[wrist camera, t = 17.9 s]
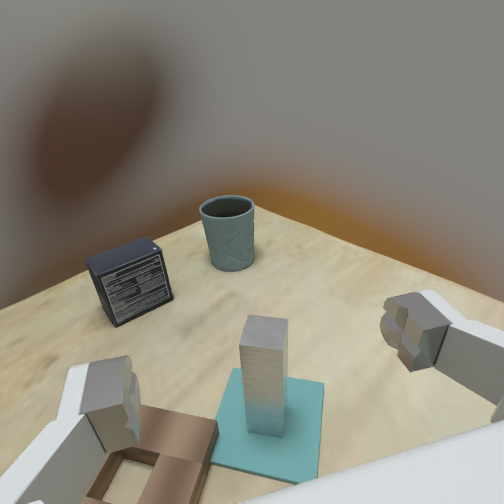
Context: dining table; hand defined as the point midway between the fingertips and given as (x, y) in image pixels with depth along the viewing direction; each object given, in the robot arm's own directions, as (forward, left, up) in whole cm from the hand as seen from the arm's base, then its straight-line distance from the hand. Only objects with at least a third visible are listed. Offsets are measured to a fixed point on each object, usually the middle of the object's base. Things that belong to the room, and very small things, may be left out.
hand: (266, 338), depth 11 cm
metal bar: (-4, +15, -29) cm, 33 cm away
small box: (-30, +31, -30) cm, 53 cm away
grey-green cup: (-18, +47, -30) cm, 59 cm away
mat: (-4, +15, -30) cm, 34 cm away
